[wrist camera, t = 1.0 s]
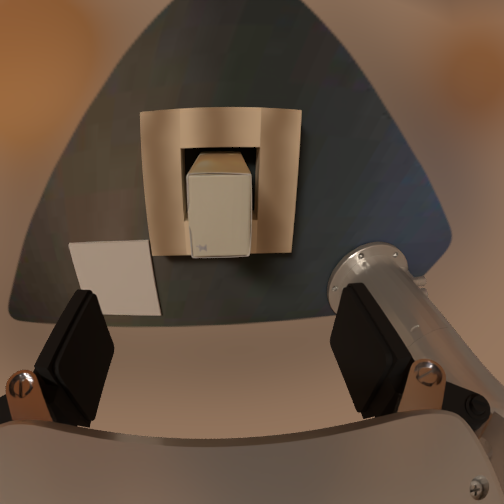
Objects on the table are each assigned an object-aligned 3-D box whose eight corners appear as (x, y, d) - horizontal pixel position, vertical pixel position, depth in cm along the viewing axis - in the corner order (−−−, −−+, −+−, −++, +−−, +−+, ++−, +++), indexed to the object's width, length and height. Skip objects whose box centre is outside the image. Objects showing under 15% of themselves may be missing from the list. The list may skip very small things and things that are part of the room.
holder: (294, 109, 27) (301, 110, 24) (285, 240, 34) (291, 252, 31) (147, 111, 26) (139, 112, 23) (157, 243, 33) (152, 255, 30)
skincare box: (240, 206, 32) (251, 261, 21) (200, 206, 31) (190, 263, 20) (241, 147, 29) (254, 172, 18) (199, 148, 28) (185, 173, 17)
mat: (148, 239, 32) (148, 241, 32) (161, 313, 37) (160, 315, 37) (69, 242, 31) (68, 244, 31) (90, 311, 36) (89, 313, 36)
